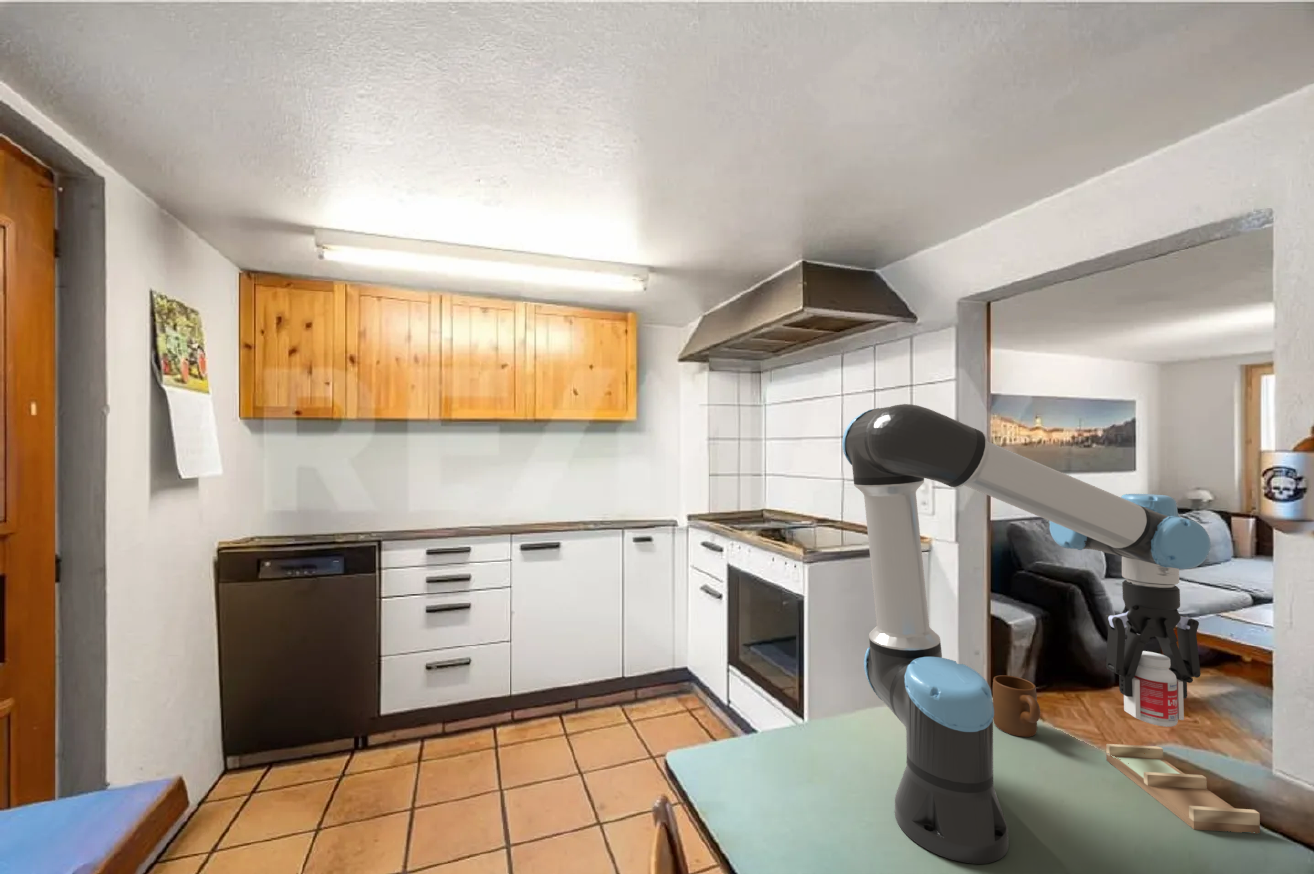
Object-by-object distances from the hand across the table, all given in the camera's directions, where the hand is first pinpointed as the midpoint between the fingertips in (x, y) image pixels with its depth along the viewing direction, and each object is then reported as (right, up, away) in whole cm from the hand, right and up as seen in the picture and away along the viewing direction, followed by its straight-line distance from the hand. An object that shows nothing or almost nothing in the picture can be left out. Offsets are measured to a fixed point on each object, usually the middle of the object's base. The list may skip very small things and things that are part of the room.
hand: (1153, 714), depth 96 cm
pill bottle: (0, -1, 0) cm, 1 cm away
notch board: (-1, -11, -5) cm, 12 cm away
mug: (-14, -11, +14) cm, 23 cm away
